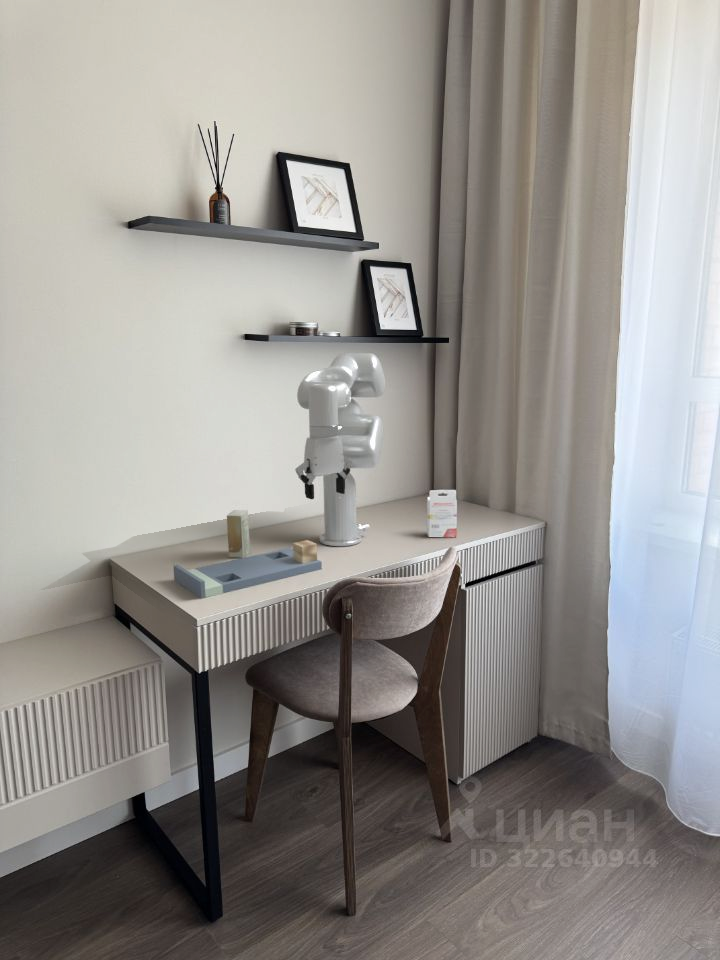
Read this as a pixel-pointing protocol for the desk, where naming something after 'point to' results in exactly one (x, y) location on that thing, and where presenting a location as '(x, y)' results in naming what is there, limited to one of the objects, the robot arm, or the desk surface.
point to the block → (305, 551)
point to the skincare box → (238, 533)
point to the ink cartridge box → (442, 513)
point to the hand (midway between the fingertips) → (325, 495)
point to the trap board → (242, 572)
